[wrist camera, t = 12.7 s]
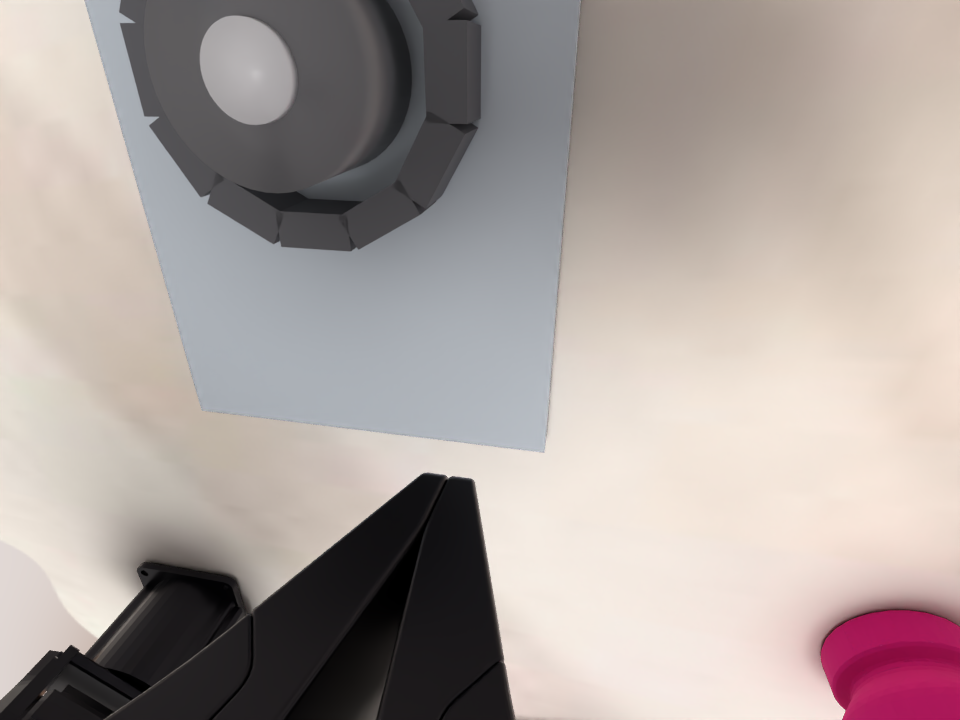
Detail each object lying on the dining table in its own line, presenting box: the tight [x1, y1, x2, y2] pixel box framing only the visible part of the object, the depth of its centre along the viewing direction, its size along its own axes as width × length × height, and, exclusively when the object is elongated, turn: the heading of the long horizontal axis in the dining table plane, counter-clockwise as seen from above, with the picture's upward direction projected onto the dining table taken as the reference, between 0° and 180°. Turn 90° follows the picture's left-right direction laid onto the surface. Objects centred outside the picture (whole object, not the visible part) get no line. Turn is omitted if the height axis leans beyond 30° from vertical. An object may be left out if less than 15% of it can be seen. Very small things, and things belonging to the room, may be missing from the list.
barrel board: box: [85, 0, 581, 453], centre depth 19 cm, size 16×20×3 cm
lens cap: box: [144, 0, 412, 193], centre depth 15 cm, size 6×6×4 cm
